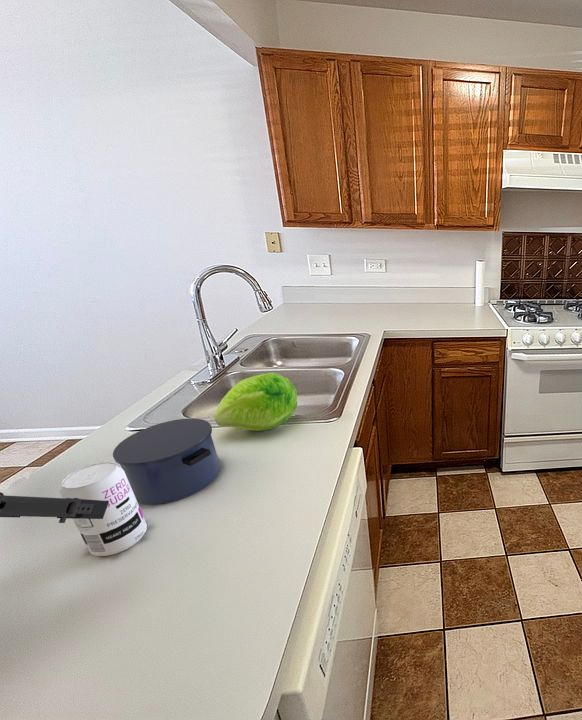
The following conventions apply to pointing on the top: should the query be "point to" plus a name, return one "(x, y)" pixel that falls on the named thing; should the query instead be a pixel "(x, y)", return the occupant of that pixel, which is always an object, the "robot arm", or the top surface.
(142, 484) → the pot
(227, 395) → the lettuce
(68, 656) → the top surface
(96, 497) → the supplement can
